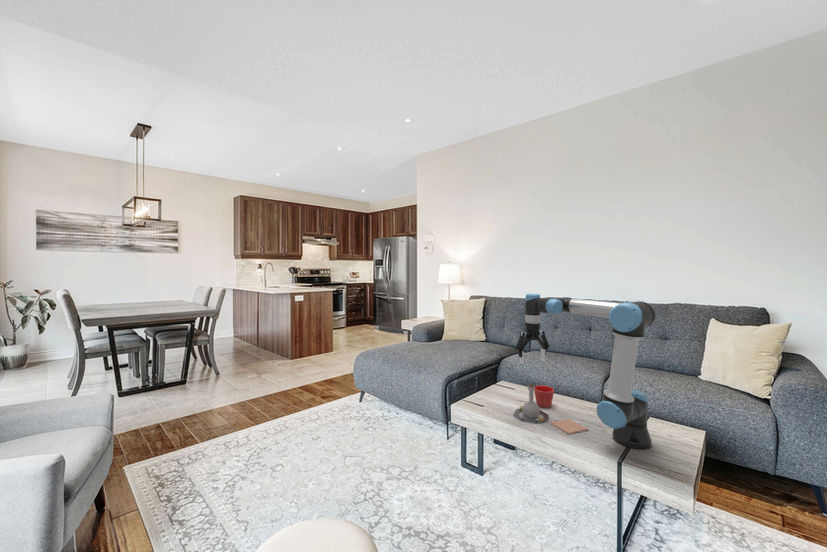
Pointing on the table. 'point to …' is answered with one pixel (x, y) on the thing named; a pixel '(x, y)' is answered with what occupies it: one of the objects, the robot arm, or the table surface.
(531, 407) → the potion bottle
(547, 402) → the flower pot
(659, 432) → the table surface
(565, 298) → the robot arm
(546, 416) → the collar
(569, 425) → the coaster
